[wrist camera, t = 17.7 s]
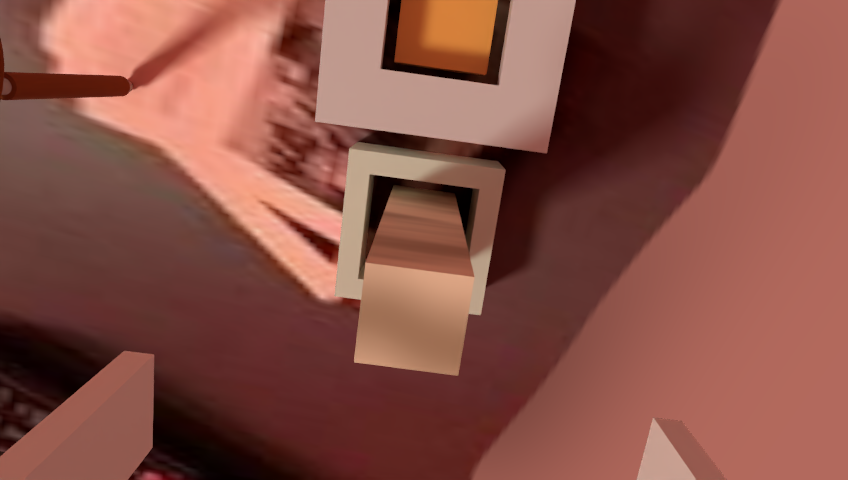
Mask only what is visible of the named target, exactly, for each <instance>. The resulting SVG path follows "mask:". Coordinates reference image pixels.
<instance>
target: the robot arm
mask: <svg viewBox="0 0 848 480" xmlns="http://www.w3.org/2000/svg"><path fill="white" fill-rule="evenodd" d="M153 391H154V355H153V354H145V353H138V352H130V351H124V352H122V353H121V354H120V355H119V356H118V357H117V358H115V359H114V360H113V361H112V362H111V363H110V364H108V365H107V366H106V367H105V368H104V369H102V370H101V371H100V372H99V373H98V374H97V375H95V376H94V377H93V378H92V379H91V380H90V381H88V382H87V383H86V384H85V385H84V386H82V387H81V388H80V389H79V390H78V391H77V392H75V393H74V394H73V395H72V396H71V397H70V398H68V399H67V400H66V401H65V402H64V403H63V404H61V405H60V406H59V407H58V408H57V409H55V410H54V411H53V412H52V413H51V414H50V415H48V416H47V417H46V418H45V419H44V420H43V421H41V422H40V423H39V424H38V425H37V426H36V427H34V428H33V429H32V430H31V431H30V432H28V433H27V434H26V435H25V436H24V437H23V438H21V439H20V440H19V441H18V442H17V443H16V444H14V445H13V446H12V447H11V448H10V449H9V450H7V451H6V452H1V451H0V480H128V478H129V477H130V476H131V475H132V473H133V472H134V471H135V469H136V468H137V467H138V466H139V464H140V463H141V462H142V460H143V459H144V458H145V457H146V455H147V454H148V453H149V451H150V450H151V449H152V443H153ZM637 480H727V479H726V478H725V477H724V475H723V474H722V473H721V471H720V470H719V469H718V468H717V466H716V465H715V464H714V462H713V461H712V460H711V458H710V457H709V456H708V455H707V453H706V452H705V451H704V449H703V448H702V447H701V446H700V444H699V443H698V442H697V440H696V439H695V438H694V436H693V435H692V434H691V433H690V431H689V430H688V429H687V427H686V426H685V425H684V423H683V422H682V421H678V420H670V419H662V418H653V420H652V424H651V428H650V432H649V436H648V439H647V444H646V447H645V451H644V454H643V459H642V462H641V466H640V470H639V474H638V478H637Z"/></svg>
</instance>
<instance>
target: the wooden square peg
mask: <svg viewBox="0 0 848 480" xmlns="http://www.w3.org/2000/svg"><path fill="white" fill-rule="evenodd" d="M474 278H475V277H474V272H473V268H472V264H471V260H470V255H469V251H468V247H467V243H466V238H465V234H464V230H463V226H462V221H461V217H460V213H459V209H458V205H457V200H456V196H455V193H450V192H443V191H436V190H428V189H421V188H414V187H407V186H399V185H393V188H392V191H391V194H390V196H389V199H388V202H387V205H386V207H385V210H384V213H383V216H382V218H381V221H380V224H379V227H378V229H377V232H376V235H375V238H374V240H373V243H372V246H371V249H370V251H369V254H368V257H367V260H366V262H365V271H364V279H363V288H362V297H361V305H360V314H359V322H358V331H357V340H356V348H355V357H354V362H356V363H364V364H372V365H379V366H387V367H395V368H403V369H410V370H418V371H426V372H434V373H441V374H449V375H457V376H458V373H459V367H460V361H461V355H462V349H463V343H464V337H465V331H466V325H467V319H468V313H469V308H470V302H471V296H472V290H473V284H474Z"/></svg>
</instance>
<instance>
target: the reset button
mask: <svg viewBox="0 0 848 480" xmlns="http://www.w3.org/2000/svg"><path fill="white" fill-rule="evenodd" d="M497 4H498V0H401V8H400V17H399V25H398V34H397V43H396V51H395V60H394V62H395V63H397V64H402V65H409V66H416V67H423V68H430V69H437V70H444V71H451V72H458V73H466V74H473V75H480V76H483V75H486V74H487V68H488V61H489V55H490V49H491V42H492V36H493V29H494V23H495V17H496V10H497Z"/></svg>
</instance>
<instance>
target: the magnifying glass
mask: <svg viewBox="0 0 848 480" xmlns="http://www.w3.org/2000/svg"><path fill="white" fill-rule="evenodd" d="M132 88H133V86H132V83H131V82H130V81H129V80H127V79H126V78H124V77H122V76H107V75H77V74H46V73H15V72H4V57H3V49H2V44H1V39H0V100H1V99H2V100H22V99H53V98H83V97H113V96H125V95H127V94H128V93H129V92H130V91H131V90H132Z"/></svg>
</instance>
